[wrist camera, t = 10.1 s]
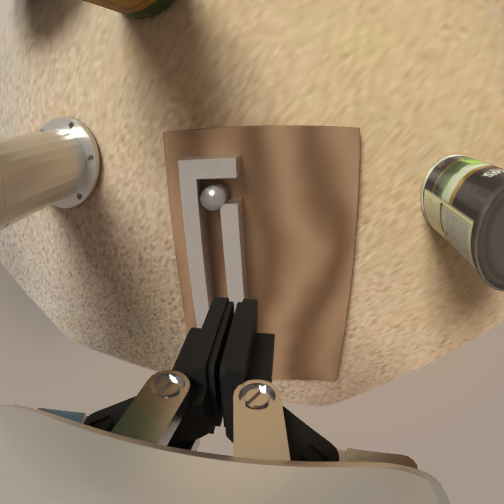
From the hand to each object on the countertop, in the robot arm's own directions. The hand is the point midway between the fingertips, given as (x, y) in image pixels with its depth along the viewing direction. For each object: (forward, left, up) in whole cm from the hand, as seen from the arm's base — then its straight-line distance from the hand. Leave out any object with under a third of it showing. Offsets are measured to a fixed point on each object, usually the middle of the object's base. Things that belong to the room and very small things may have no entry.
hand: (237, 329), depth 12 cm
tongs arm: (-5, -11, -24) cm, 27 cm away
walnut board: (-2, -10, -26) cm, 27 cm away
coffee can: (+22, 0, -26) cm, 34 cm away
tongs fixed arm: (-7, -10, -24) cm, 27 cm away
